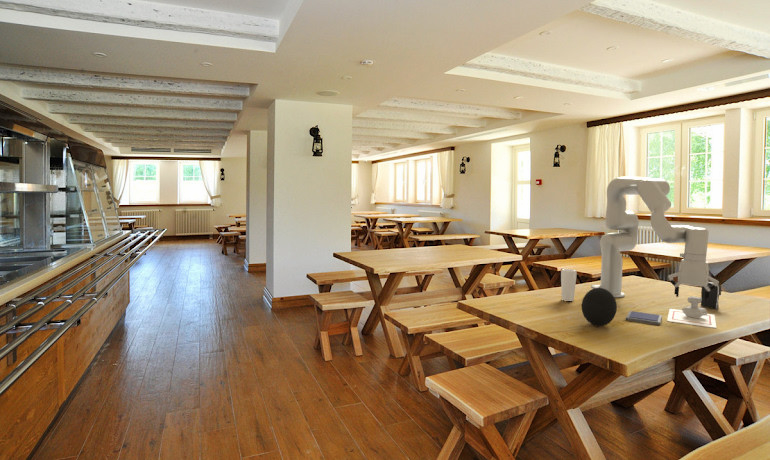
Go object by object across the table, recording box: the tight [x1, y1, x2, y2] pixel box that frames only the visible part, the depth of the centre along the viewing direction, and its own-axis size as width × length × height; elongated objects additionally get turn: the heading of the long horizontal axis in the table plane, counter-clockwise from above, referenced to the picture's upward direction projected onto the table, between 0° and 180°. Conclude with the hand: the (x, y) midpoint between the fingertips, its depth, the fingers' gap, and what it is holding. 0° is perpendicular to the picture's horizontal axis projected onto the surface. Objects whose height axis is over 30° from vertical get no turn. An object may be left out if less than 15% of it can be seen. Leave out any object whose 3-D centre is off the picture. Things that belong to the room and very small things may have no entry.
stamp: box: [681, 295, 708, 318], centre depth 184 cm, size 9×7×8 cm
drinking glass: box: [560, 268, 577, 302], centre depth 212 cm, size 7×7×15 cm
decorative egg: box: [581, 288, 618, 327], centre depth 174 cm, size 12×12×15 cm
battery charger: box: [700, 281, 722, 310], centre depth 201 cm, size 7×4×11 cm, turn 21°
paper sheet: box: [666, 308, 717, 329], centre depth 184 cm, size 16×22×1 cm
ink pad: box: [625, 310, 663, 326], centre depth 183 cm, size 12×12×2 cm
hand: (691, 298), depth 184 cm, fingers open, 9 cm apart
